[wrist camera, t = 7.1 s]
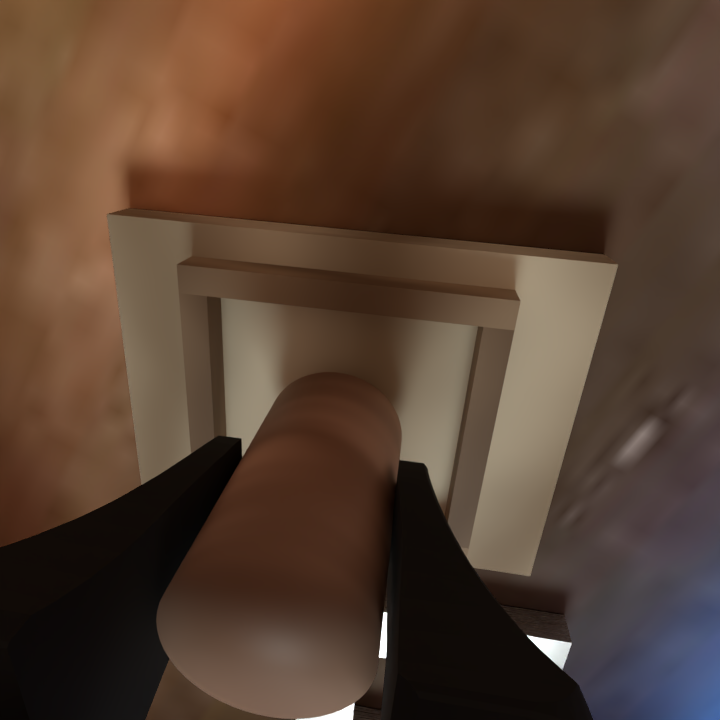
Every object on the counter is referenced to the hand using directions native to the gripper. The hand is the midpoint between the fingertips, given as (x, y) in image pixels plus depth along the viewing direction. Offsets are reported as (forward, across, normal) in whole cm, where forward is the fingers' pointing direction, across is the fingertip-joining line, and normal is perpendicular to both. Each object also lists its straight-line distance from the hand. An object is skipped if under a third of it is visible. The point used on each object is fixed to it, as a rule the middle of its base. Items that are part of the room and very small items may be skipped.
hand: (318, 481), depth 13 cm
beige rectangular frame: (+5, 0, 0) cm, 5 cm away
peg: (+2, 0, 0) cm, 3 cm away
